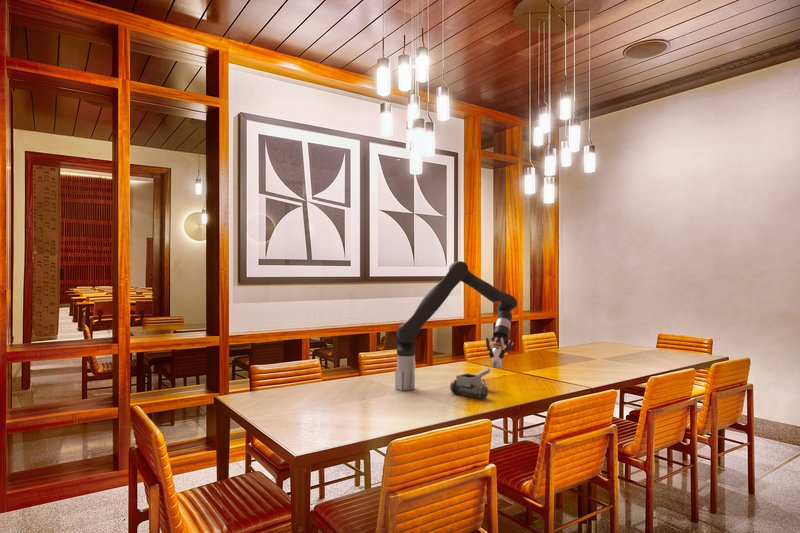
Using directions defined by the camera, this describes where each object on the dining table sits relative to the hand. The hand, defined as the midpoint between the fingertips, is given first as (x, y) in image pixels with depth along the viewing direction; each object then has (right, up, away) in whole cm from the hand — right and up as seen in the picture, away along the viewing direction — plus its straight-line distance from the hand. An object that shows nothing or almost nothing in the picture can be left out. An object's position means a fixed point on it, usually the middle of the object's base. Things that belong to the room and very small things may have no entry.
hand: (496, 357), depth 234 cm
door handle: (-8, -20, +23) cm, 32 cm away
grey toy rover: (-13, -19, +3) cm, 23 cm away
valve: (+1, -5, +2) cm, 6 cm away
